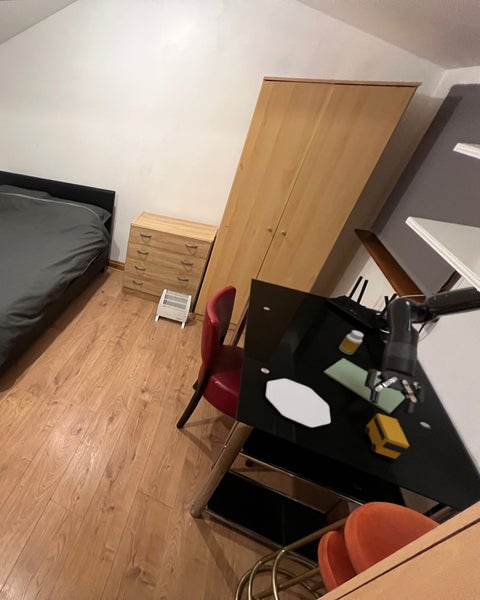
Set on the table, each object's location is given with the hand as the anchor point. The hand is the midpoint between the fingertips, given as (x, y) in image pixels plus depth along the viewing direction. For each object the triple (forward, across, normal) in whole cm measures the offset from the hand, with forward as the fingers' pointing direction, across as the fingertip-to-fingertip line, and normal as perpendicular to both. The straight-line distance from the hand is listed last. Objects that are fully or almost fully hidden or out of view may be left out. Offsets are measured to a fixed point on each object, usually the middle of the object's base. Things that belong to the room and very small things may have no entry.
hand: (390, 408), depth 100 cm
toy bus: (+12, 0, +3) cm, 12 cm away
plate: (+8, -23, +7) cm, 25 cm away
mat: (-9, +3, +24) cm, 26 cm away
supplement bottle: (-23, +2, +38) cm, 45 cm away
